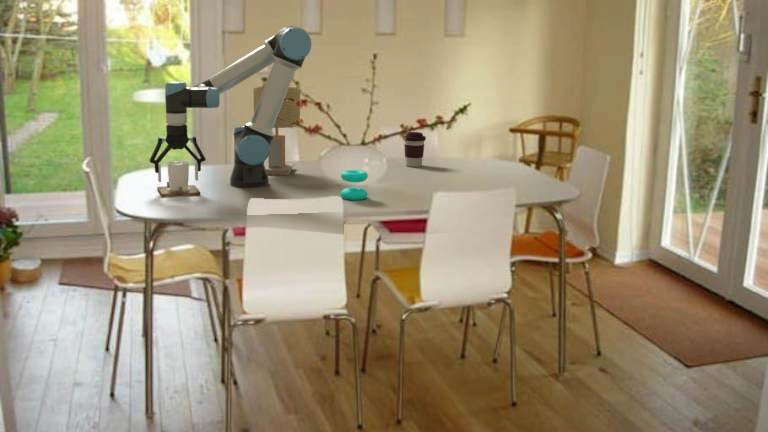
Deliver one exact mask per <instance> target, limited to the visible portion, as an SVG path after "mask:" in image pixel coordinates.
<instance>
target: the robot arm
mask: <svg viewBox="0 0 768 432" xmlns="http://www.w3.org/2000/svg"><path fill="white" fill-rule="evenodd" d="M311 49H312V39H311V37H310V35H309V33H308V32H307V30H305V29H303V28H302V27H299V26H293V25H288V26H285V27H282V28H281V29H280V30H279V31H277V32H276V33H274V35H272V36H271V37H270V38H269V37H268V39H266V40H264V44H263V45H261V46H260V47H258V48H256V49H254V50H253V51H252V52H250V53H248V54H246V55H245V56H244V57H241V58H240V59H238V60H237V61H235V62H233V63H231V65H229V66H227V67H225V68H224V69H222V70H220V71H218V72H217V73H215V74H214V75H212V76H210V77H208V78H207V79H206V80H204V81H202V82H200V83H197V84H196V85H194V86H193V87H189V86H187V83H186V82H185V81H167V82H166V83H165V85H164V86H165V89H164V90H165V91H164V93H165V95H164V99H165V100H164V101H165V121H166V126H165V128H166V130H165V131H166V135H165V136H166V137H159V136H158V138H157V144H156V145H155V148H154V150H153V152H152V154H151V156H150V158H149V160H148V161H149V163H150V164H154V172H155V174H157V180H158V182H159V183H162V169H161V168H162V165H161V161H162V160H163V159H164V158H165V157H166V155H167V154H168V153H169V152H170V151H171V150H183V149H185V150H186V151H187V152H188V153H189V155H190V156H191V157H192V158H193V159H194V160H195V161H196V162H194V180H195V181H197V182H198V181H199V172H201V171H202V162H206V160H207V159H206V157H205V156H204V154H203V151H202V150H201V148H200V147H199V144H198V142H197V141H198V140H197V137H196V136H195V135H193V136H190V137H188V125H187V123H188V110H187V109H191V108H192V109H214V108H215V109H217V108H219V107H220V101H221V100H220V96H221V95H222V94H224V93H226V92H227V91H229V90H231V89H233V88H234V87H236V86H238V84H240V83H242V82H244V81H246V80H247V79H248V78H251V77H252V76H254V75H256V74H257V73H259V72H261V71H262V70H264V69H265V68H267V67H269V66H272V67H271V69H270V72H269V73H268V77H267V79H266V82H265V84H264V86H263V87H264V89H263V91H262V94H261V97H260V99H259V102H258V104H257V107H256V109H255V112H254V111H253V115H252V117H251V120H250V121H249V122H247V123H245V124H244V125H243V126H234V129H233V133H232V134H233V150H234V151H233V155H234V156H233V157H234V159H233V160H234V161H233V163H234V165H233V169H232V171H231V175H230V178H229V185H230V186H233V187H239V188H260V187H265V186H268V185H269V184H270V182H269V181H270V180H269V174H267V172H266V169H265V166H264V163H265V161H266V160H267V159H268V155H269V151H270V145H271V142H272V140H273V137H274V135H275V133H274V131H273V129H274V128H273V126H274V124H275V121H276V119H277V116H278V114H279V111H280V109H281V106H282V104H283V101H284V99H285V96H286V94H287V91H288V89H289V87H291V83H292V80H293V78H294V76H295V73H296V72H297V71H298V70H301V69H302V67H303V64H304V62H305V59H306V57H307V56H308V55H309V54H310V52H311ZM189 142H190V143H192V145H193V146H194V148H195V150H196V152H197V153H198V156H199V157H200V158H199V157H198V156H197V154H195V153H194V151H193V150H191V149H190V147H189V146H188V143H189ZM164 143H167V145H166V146H165V148H164V149H163V151H161V153H160V154H159V155H158V153H159V151H160V149H161V147H162V144H164ZM157 155H158V156H157Z"/></svg>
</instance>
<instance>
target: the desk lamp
mask: <svg viewBox="0 0 768 432" xmlns="http://www.w3.org/2000/svg"><path fill="white" fill-rule="evenodd" d="M263 89H264V86H258V87H257V86H256V87H253V90H252V91H253V97H252V98H253V113H254V112H255V109H256V107H257V104H258V102H259V99H260V97H261V94H262V91H263ZM285 98H293V99H294V100H295V101H300V102H301V88H298V87H293V86H289V89H288V91H287V94H286V96H285ZM277 117H281V118H282V119H284V120H285V121H287V122H290V123H291V122H294V121H295V120H297V119H300V120H301V106H300V107H297V106H296V105H295V104H294V103H292V102H290V101H283V104H282V106H281V109H280V111H279V114H278V116H277ZM287 122H284V121H281V120H278V119H277V120H276V121H275V124H274V126H273V129H275V130H274V137H273V140H272V142H271V145H270V151H269V155H268V157H267V159H268V162H264V166H265V169H266V172H267V175H275V176H276V175H279V176H280V175H283V176H286V175H287V176H288V175H290V173H291V172H292V170H293V168H294V166H295V165H296V164H295V163H288V162H287V163H286V135H285V134H284V135H282V134H280V135H279V129H280V128H281V129H285V128H294V127H295V128H296V127H297V126H291V125H290V124H289V123H287Z"/></svg>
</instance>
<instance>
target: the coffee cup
mask: <svg viewBox="0 0 768 432" xmlns="http://www.w3.org/2000/svg"><path fill="white" fill-rule="evenodd" d="M404 136H405V137H406V140H404V144H403V145H404V157H405V166H406V167H409V168H419V167H422V165H423V158H424V151H425V141H426V136H425V135H424V134H423V132H420V131H408V132H407V133H406V135H404Z"/></svg>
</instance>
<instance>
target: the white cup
mask: <svg viewBox="0 0 768 432" xmlns="http://www.w3.org/2000/svg"><path fill="white" fill-rule="evenodd" d="M189 169H190V162H189V161H185V160H171V161H167V176H168V182H169V188H170V190H177V191H179V187H183V190H187V189H188V185H189V180H190V178H189V175H190V173H189V172H190V170H189Z"/></svg>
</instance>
